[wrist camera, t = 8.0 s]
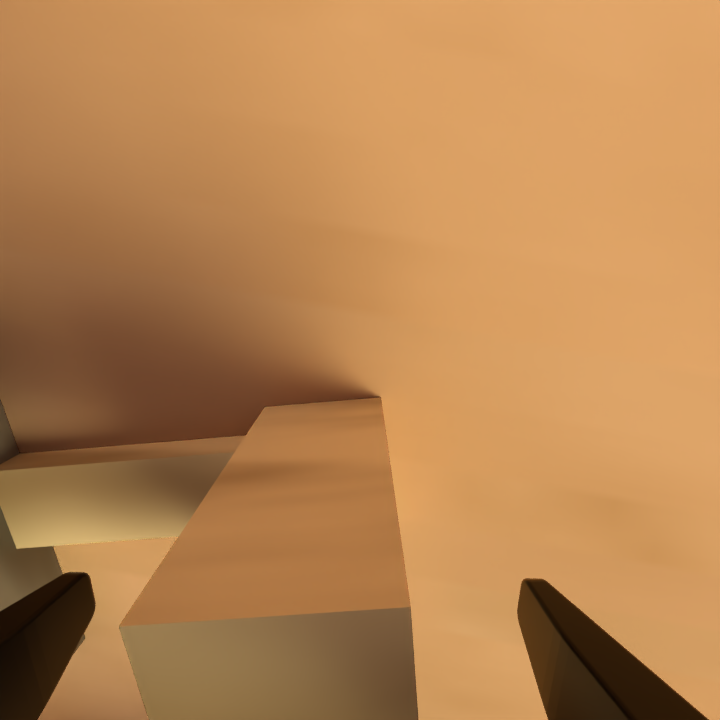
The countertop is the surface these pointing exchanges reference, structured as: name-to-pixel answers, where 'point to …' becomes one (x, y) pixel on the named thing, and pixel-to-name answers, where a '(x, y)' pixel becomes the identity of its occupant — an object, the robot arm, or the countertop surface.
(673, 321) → the countertop surface
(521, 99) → the countertop surface
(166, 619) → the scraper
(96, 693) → the countertop surface
